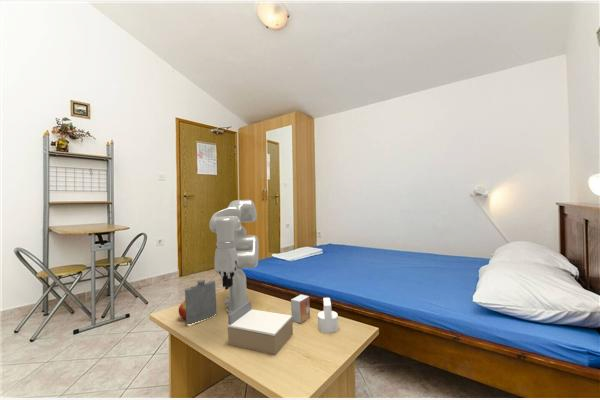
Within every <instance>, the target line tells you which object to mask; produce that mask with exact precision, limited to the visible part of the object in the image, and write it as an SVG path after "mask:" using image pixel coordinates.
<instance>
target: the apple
mask: <svg viewBox="0 0 600 400" xmlns="http://www.w3.org/2000/svg"><path fill="white" fill-rule="evenodd" d="M178 315H179V316H180V318H181V319H183V318H186V302H185V301H183V302H181V304H180V305H179V307H178Z"/></svg>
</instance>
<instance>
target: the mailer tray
mask: <svg viewBox="0 0 600 400" xmlns="http://www.w3.org/2000/svg"><path fill="white" fill-rule="evenodd" d="M293 335H294V327H293V321H292V318H291V319H290V320H289V321H288V322H287V323H286V324H285V326H284V327H283V328H282V329H281V330H280V331H279V332H278V333H277V334H276V335H275V336H272V335H267V334H262V333H257V332H252V331H246V330H241V329H236V328H231V327H228V326H227V339H228V345H230V346H233V347H238V348H243V349H247V350H252V351H257V352H260V353H265V354H270V355H277V354H278V353H279V351H280V350H281V349H282V348H283V346H284V345H285V344H286V343H287V341H289V339H291V337H292V336H293Z"/></svg>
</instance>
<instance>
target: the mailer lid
mask: <svg viewBox="0 0 600 400" xmlns="http://www.w3.org/2000/svg"><path fill="white" fill-rule="evenodd" d="M291 318H292V314H286V313H285V314H284V313H278V312H271V311H264V310H258V309H252V301H250V300H247V302H246V303H245V304H243V305H242V306H240V307H239V308H237V309H236V310H234V311H233V312H231V313H228V315H227V321H228V323H227V328H228V327H231V328H236V329H241V330H246V331H252V332H257V333H262V334H267V335H272V336H275V335H276V334H277V333H278V332H279V331H280V330H281V329H282V328H283V327H284V326H285V324H286V323H287V322H288V321H289V320H290V319H291Z"/></svg>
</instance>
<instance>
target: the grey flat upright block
mask: <svg viewBox="0 0 600 400" xmlns="http://www.w3.org/2000/svg"><path fill="white" fill-rule="evenodd" d="M196 282H197V283H196V284H195V285H192V286H190V287H187V288H184V298H185V299H184V300H185V302H186V319H185V321H186V325H187V324H192V323H195V322H198V321H201V320H204V319H207V318H210V317H212V316H214V315H215V314H217V315H218V312H217V309H218V308H217V295H216V293H217V291H216V281H215V280H209V281H207V282H206V280H205V279H198V280H196ZM215 316H216V315H215ZM215 316H214V317H215ZM212 318H213V317H212ZM210 319H211V318H210Z"/></svg>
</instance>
